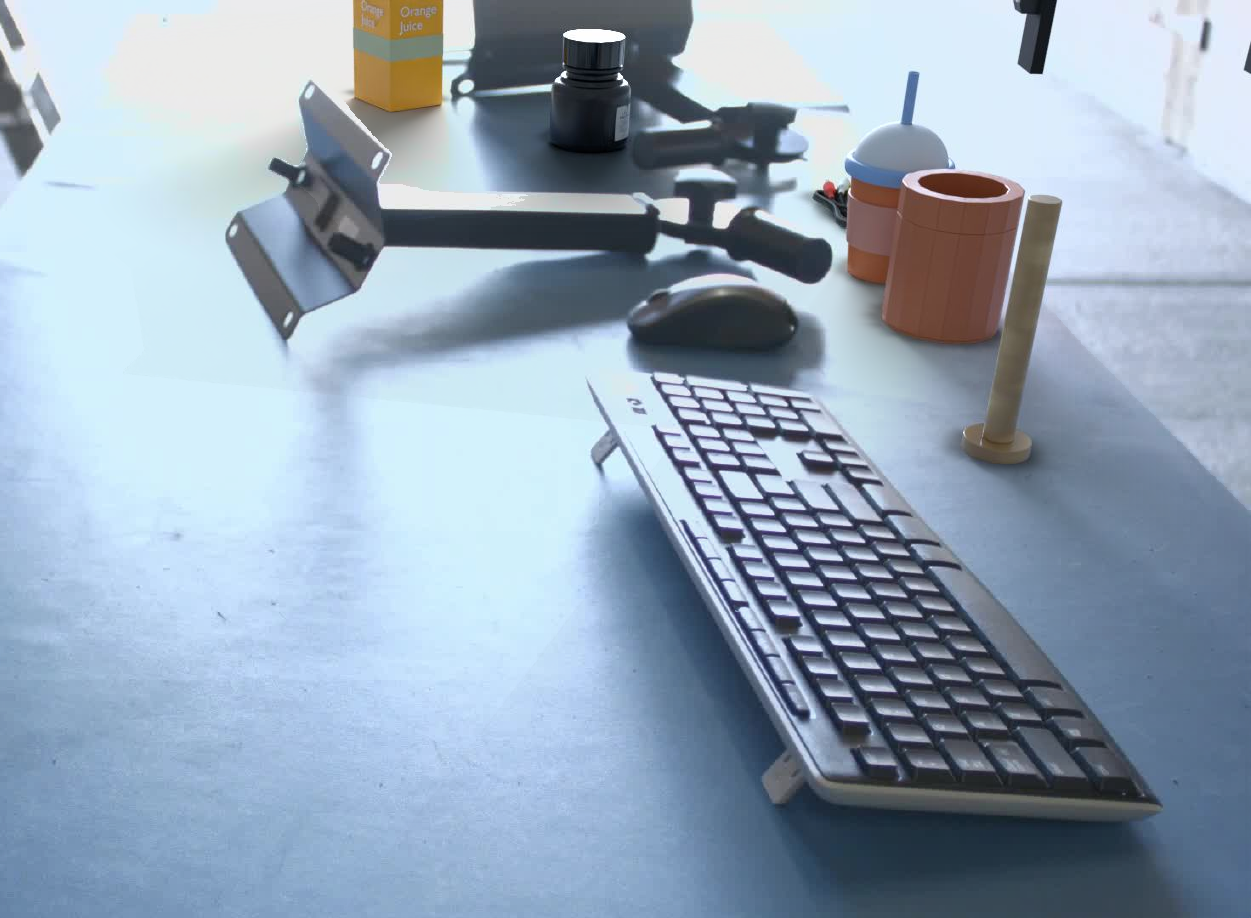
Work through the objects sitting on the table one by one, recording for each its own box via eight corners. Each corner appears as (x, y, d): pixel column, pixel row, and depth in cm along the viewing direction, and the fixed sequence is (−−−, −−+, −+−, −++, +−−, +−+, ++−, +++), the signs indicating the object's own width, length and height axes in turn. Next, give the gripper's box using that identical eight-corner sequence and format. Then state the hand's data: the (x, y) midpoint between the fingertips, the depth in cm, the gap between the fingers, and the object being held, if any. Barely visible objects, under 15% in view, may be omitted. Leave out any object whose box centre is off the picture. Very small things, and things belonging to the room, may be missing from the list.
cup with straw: (815, 261, 137) (842, 60, 129) (912, 259, 138) (944, 59, 130) (850, 298, 129) (881, 86, 121) (953, 295, 130) (990, 84, 122)
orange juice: (405, 89, 194) (406, -75, 185) (443, 104, 187) (445, -66, 178) (352, 97, 190) (350, -71, 181) (388, 112, 184) (388, -61, 175)
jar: (1003, 320, 125) (1031, 178, 120) (987, 358, 118) (1015, 209, 112) (892, 301, 129) (915, 163, 123) (870, 337, 121) (892, 192, 116)
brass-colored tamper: (1031, 450, 104) (1086, 195, 95) (1023, 477, 100) (1079, 213, 92) (965, 437, 105) (1013, 185, 97) (954, 463, 102) (1003, 203, 94)
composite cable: (863, 229, 146) (866, 204, 145) (812, 225, 147) (815, 200, 146) (859, 199, 154) (862, 175, 153) (811, 196, 155) (814, 172, 154)
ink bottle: (639, 152, 169) (647, 43, 164) (563, 156, 167) (569, 46, 162) (610, 130, 177) (617, 25, 172) (538, 134, 176) (543, 28, 170)
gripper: (1433, -319, 85) (1326, 64, 95) (981, -326, 86) (921, 53, 96) (1510, -319, 78) (1386, 92, 88) (1018, -327, 79) (950, 80, 89)
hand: (1143, 73), depth 92 cm, fingers open, 13 cm apart
